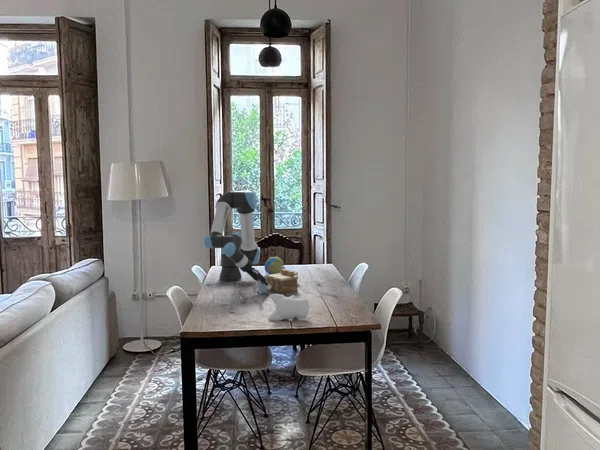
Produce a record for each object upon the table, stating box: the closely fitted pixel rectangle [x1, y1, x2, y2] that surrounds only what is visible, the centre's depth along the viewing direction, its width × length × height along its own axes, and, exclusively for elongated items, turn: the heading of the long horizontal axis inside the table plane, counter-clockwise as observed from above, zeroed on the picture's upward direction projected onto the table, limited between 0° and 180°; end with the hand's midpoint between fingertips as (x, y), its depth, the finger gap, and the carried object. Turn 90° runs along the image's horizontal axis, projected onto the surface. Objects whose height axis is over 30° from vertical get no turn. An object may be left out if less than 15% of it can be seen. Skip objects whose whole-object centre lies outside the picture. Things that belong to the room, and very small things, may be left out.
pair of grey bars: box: [256, 290, 270, 296], centre depth 324 cm, size 8×4×1 cm, turn 35°
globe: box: [264, 255, 286, 275], centre depth 385 cm, size 14×16×15 cm
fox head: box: [267, 293, 310, 322], centre depth 268 cm, size 13×17×20 cm
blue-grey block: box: [257, 274, 268, 295], centre depth 324 cm, size 4×4×11 cm
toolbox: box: [267, 277, 298, 295], centre depth 332 cm, size 16×12×8 cm
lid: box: [265, 268, 299, 281], centre depth 332 cm, size 17×13×4 cm
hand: (268, 287), depth 326 cm, fingers closed on blue-grey block, 4 cm apart
